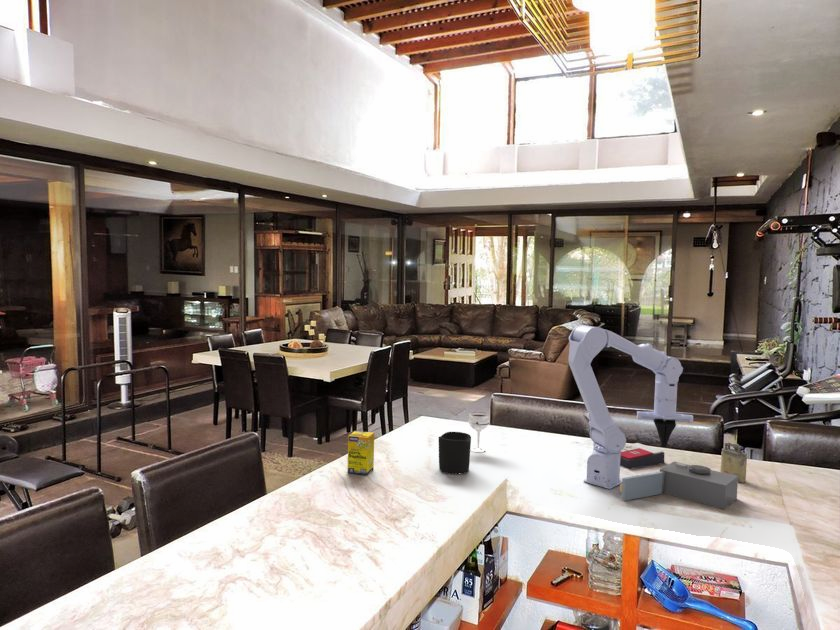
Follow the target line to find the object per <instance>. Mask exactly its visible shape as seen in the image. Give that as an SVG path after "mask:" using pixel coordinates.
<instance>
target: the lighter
mask: <svg viewBox="0 0 840 630" xmlns="http://www.w3.org/2000/svg"><path fill="white" fill-rule="evenodd" d="M723 445H724V447H723V448H721V453H720V454H721V455H720V456H721V457H720V471H719V472H722V473H727V474H731V475H736V476H738V483H744V484H745V483H746V482H747V464H748V463H747V462H748V461H747V460H748V456H747V453H746V452H744V451H742V450H743V449H744V446H742V445H739V443H731V442H724V444H723ZM731 447H732V448H731Z"/></svg>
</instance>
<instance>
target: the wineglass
mask: <svg viewBox="0 0 840 630" xmlns="http://www.w3.org/2000/svg"><path fill="white" fill-rule="evenodd" d="M468 415H469V418H468V424H469V426H470V427H471V428H472V429H473V430H475V431H476V432H477V433H476V435H477V436H476V437H477V448H476V447H475V448H473V449H474V450H476V451H480V450H482V449H483V448H480V434H481V432H482V431H483V430H485V429H486V428H487V427H488V426H489V425H490V418H489V417H490V413H487V412H484V411H483V412H482V411H473V412H472V411H471V412H469V413H468Z"/></svg>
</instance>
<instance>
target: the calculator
mask: <svg viewBox="0 0 840 630" xmlns="http://www.w3.org/2000/svg"><path fill="white" fill-rule="evenodd" d="M659 463H662V464H665V452H664V451H662V450H660V449H657V448H655V447H652V446H648V445H645V444H643V443H639V442H634V443H630V444H628V443H627V444H626V445H625V447H624V448H623V449H622V450H621V456H620V467H623V468H625V469H628V470H630V469H637V468H642V467H643V468H644V467H648V466H652V465H654V464H656V465H660V464H659Z"/></svg>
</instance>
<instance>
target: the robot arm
mask: <svg viewBox="0 0 840 630" xmlns="http://www.w3.org/2000/svg"><path fill="white" fill-rule="evenodd" d="M568 341H569V350H568V359H567V361H568V365H569V367H570V370H571V373H572V376H573V378H574V381H575V383H576V385H577V388H578V390H579V393H580V397H581V398H582V400H583V403H584V406H585V409H586V412H587V413H588V416H589V421H588V427H589V438H590V440H591V441H592V442H593V449H592V450H593V451H592V453H591V455H589V456H588V458H587V462H586V478H584V479H583V483H587V484H590V485H595V486H598V487H601V488H605V489H608V490H611V489H613V488H614V487H617V486H618V485H619V486H620V484H622V478H623V477H620V476H621V472H620V471H621V466H620V456H621V450H622V449H623V448H624V447H625V445H627V444H626V443H627V437H626V435H625V433H624V432H623V431H622V430H621V429H620V428H619V426H618V424H617V422H616V421H615V419H614V418H613V417H612V416H611V414H610V412H609V409H608V406H607V403H606V401H605V398H604V396H603V394H602V391H601V388H600V385H599V384H598V381H597V378H596V376H595V373H594V371H593V367H592V366H591V364H592V361H594V360H593V359H594V358H596V356H598V354H599V353H600V352H601V351H602V350H603V349H604V348H610V347H612V348H614V349H616V350H619V351H621V352H622V353H625V354H627V355H630V356H631V358H632V361H633V362H634V363H636V364H637V365H640V366H642V367H644V368H647V369H648V370H651V371H652V372H653V373H654V374H655V376H654V377H655V379H654V380H655V382H654V383H655V385H654V403H653V411H652V410H651V411H642V410H641V411H639V410H637V411H636V419H637V420H646V421H647V420H649V421H650V420H651V421H653V423H654V426H655V428H656V430H657V434H658V439H659V446H660V447H661V448H667V446H668V442H669V440H670V437H671V434H672V432H673V431H674V429H675V428H676V426H677V423H676V422H679V423H688V424H693V423H694V415H692V414H687V413H686V414H684V413H677V398H678V382H679V379H680V378H679V377H680V376H681V375H682V373H683V372H684V371H683V370H684V367H683V366H682V364H681V362H680V360H679V359H678V358H677V357H674V356H668V355H667V352H666V351H663V350H661V351H660V350H658V349H655V348H654V346H653V345H652V344H651V343H641V344H635V343H634V342H632V341H630V340H628V339H626V338H624V337H622V336H621V335H619V334H618V333H615V332H613V331H611V330H608V329H604V328H602V327H599V326H591V325H587V324H578V325H576V326H575V327H574V328H573V329H572V331H571V332H570V334H569V336H568Z"/></svg>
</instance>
